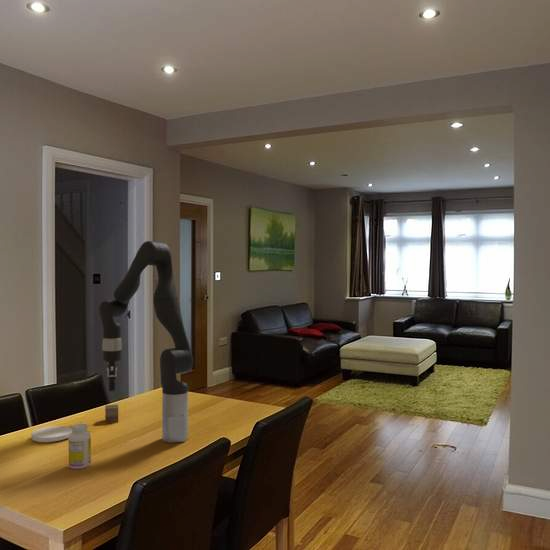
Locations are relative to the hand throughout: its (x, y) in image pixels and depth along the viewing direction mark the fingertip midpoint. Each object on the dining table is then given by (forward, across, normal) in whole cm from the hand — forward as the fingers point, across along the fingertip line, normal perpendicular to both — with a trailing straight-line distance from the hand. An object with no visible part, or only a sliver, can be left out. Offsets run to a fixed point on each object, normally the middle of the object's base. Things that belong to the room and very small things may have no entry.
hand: (111, 388), depth 218 cm
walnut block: (+13, 0, 0) cm, 13 cm away
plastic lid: (+14, -16, +21) cm, 30 cm away
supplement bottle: (+13, -48, +10) cm, 51 cm away
